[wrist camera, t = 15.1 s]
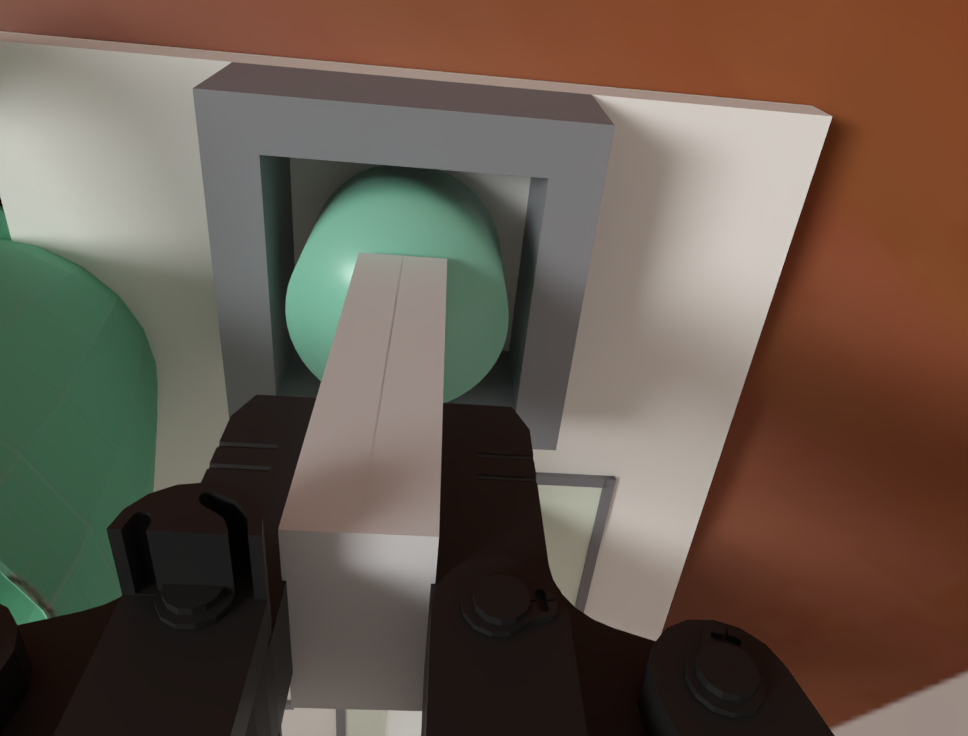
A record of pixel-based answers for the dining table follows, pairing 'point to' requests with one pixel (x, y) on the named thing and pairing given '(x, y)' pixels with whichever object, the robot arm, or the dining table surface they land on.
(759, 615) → the dining table surface
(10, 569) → the mug
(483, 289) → the button
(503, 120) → the board
